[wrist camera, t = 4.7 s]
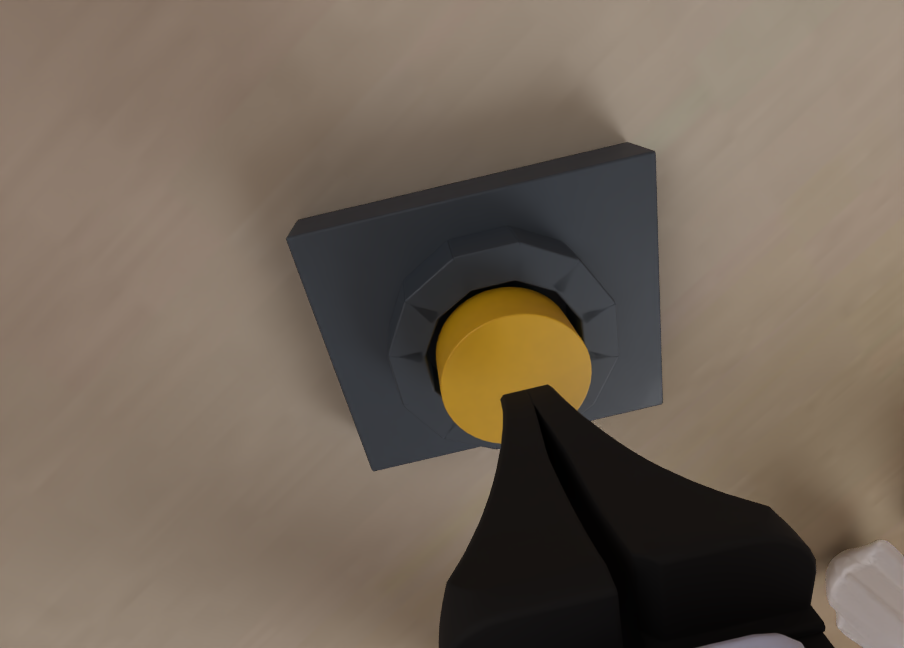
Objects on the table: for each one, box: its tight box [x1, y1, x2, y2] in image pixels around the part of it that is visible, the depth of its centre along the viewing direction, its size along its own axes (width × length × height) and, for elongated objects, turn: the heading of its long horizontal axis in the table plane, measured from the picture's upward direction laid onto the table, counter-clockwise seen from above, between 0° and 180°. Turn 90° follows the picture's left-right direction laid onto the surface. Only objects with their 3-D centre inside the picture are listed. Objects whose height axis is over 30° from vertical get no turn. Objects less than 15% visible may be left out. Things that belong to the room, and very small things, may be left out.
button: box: [436, 287, 592, 444], centre depth 17 cm, size 5×5×2 cm
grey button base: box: [286, 142, 663, 471], centre depth 19 cm, size 12×10×4 cm
